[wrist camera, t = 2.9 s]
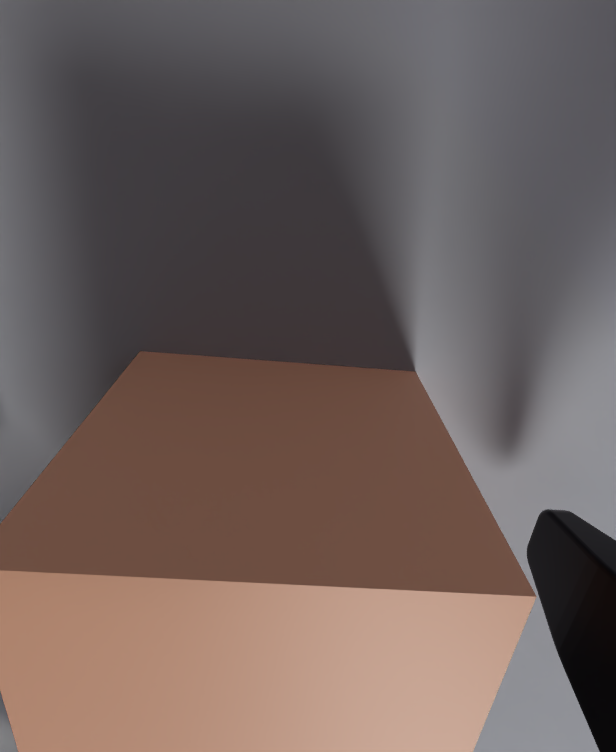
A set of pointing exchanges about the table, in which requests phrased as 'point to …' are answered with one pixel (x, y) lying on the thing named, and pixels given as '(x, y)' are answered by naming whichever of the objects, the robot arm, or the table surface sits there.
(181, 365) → the terracotta cube
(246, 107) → the table surface
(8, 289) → the table surface
